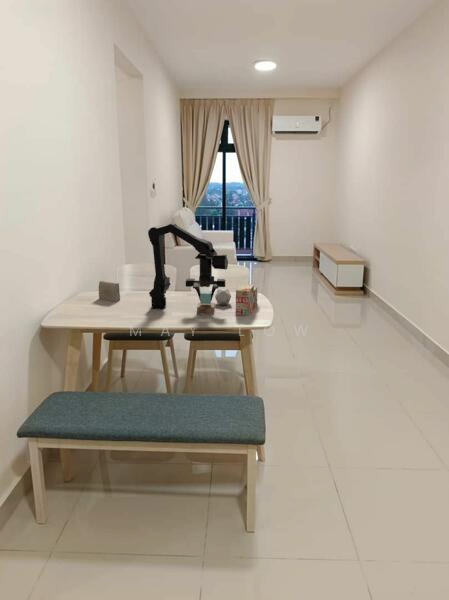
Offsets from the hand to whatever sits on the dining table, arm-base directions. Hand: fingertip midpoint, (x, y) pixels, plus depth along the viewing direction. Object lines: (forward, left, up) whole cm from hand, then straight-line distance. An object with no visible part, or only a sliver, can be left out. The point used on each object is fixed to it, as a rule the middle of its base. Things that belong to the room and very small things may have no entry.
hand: (205, 300), depth 214 cm
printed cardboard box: (+20, +4, -6) cm, 21 cm away
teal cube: (0, 0, -1) cm, 1 cm away
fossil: (-52, +19, -6) cm, 56 cm away
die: (+8, +13, -6) cm, 16 cm away
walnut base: (0, 0, -6) cm, 6 cm away
